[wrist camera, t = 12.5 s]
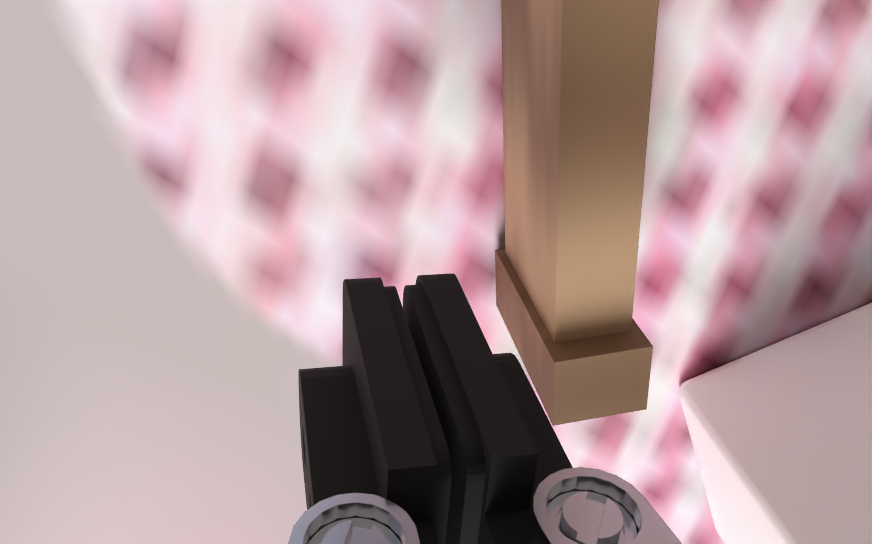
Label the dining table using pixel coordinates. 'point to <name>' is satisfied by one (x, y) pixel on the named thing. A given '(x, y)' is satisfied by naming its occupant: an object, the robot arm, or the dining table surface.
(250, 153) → the dining table surface
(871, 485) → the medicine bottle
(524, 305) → the tan wooden plank
